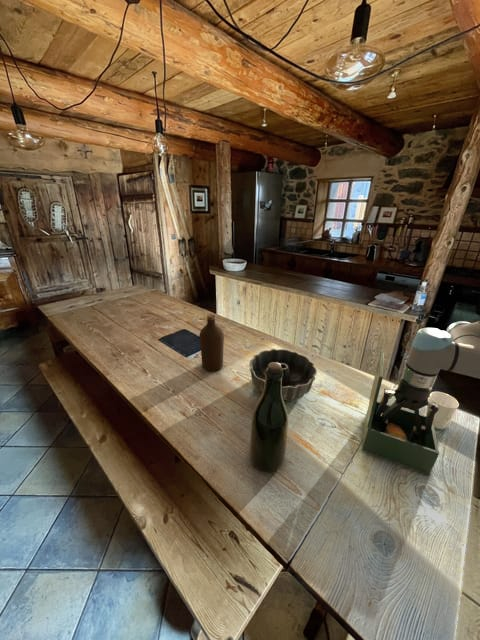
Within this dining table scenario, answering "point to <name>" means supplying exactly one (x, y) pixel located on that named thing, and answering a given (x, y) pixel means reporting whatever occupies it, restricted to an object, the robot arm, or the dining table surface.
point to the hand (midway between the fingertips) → (394, 439)
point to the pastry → (395, 431)
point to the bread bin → (401, 441)
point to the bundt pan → (284, 372)
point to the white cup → (442, 408)
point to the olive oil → (211, 345)
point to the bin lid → (375, 389)
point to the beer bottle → (269, 423)
